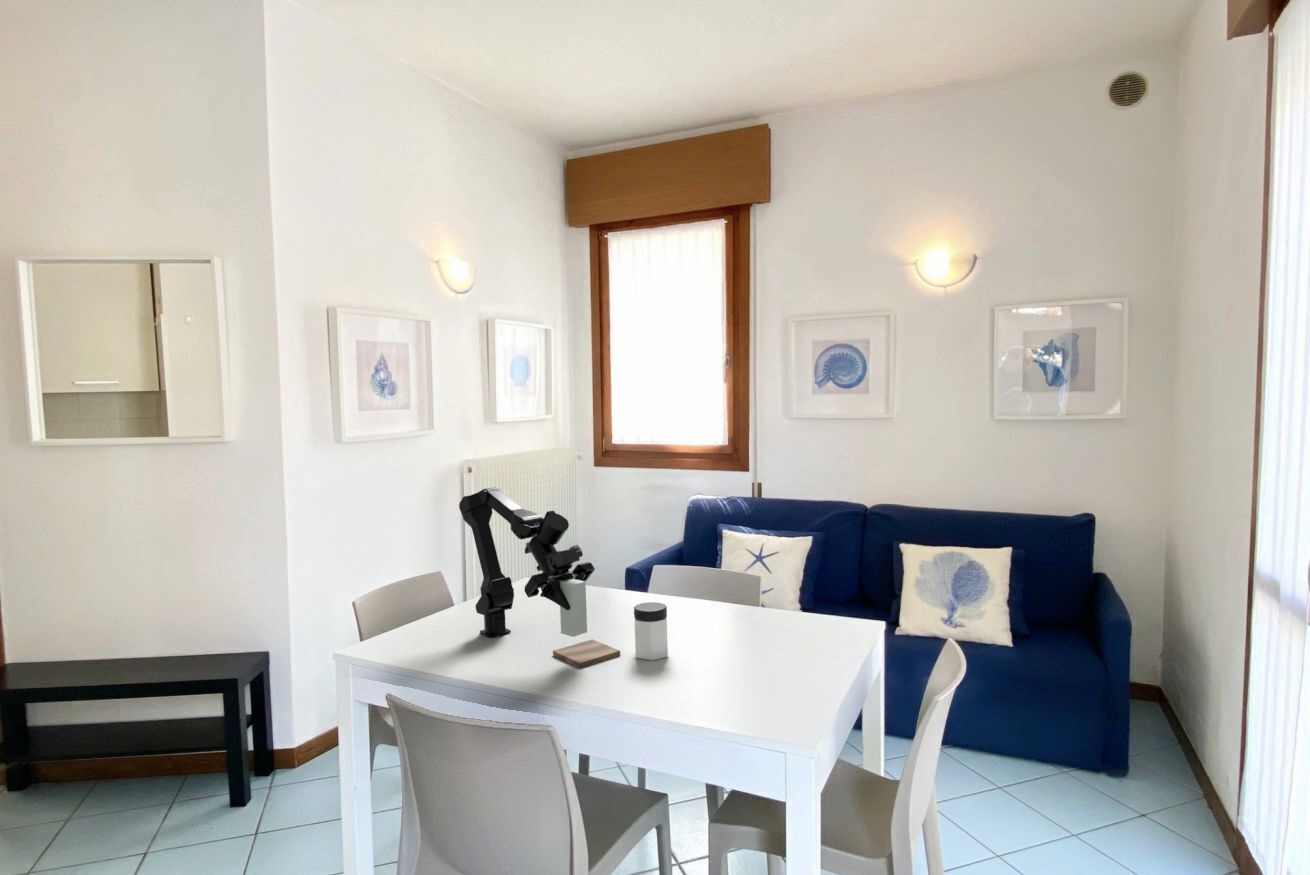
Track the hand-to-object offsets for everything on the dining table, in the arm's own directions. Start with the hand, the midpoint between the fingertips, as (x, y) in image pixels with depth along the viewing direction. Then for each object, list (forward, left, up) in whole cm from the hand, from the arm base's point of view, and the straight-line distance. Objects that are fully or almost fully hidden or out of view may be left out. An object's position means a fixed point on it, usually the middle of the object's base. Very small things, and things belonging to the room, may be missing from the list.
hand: (576, 607), depth 170 cm
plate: (-2, +4, -13) cm, 14 cm away
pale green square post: (-1, 0, -7) cm, 7 cm away
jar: (+9, +16, -14) cm, 23 cm away
